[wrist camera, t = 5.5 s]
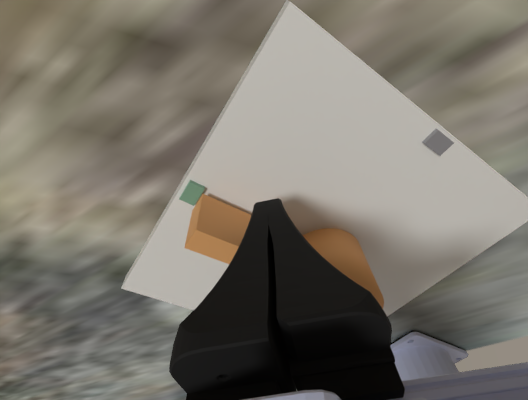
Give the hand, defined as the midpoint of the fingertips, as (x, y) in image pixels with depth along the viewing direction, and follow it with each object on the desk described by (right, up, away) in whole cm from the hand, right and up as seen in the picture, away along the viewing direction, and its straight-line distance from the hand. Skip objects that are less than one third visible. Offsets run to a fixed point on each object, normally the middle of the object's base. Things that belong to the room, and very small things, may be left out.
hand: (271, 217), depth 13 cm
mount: (+3, -2, +5) cm, 6 cm away
